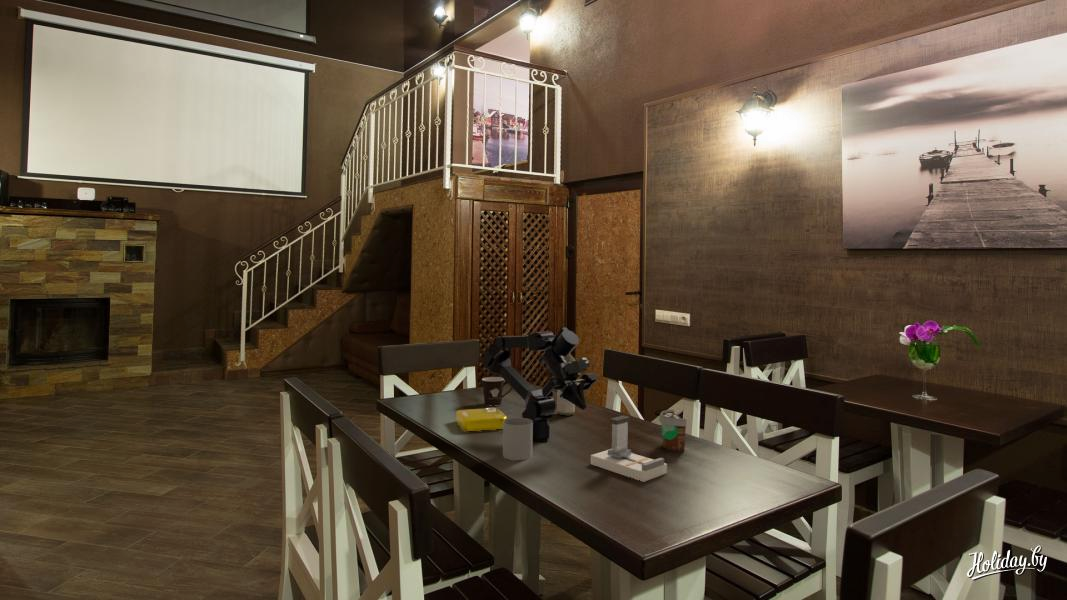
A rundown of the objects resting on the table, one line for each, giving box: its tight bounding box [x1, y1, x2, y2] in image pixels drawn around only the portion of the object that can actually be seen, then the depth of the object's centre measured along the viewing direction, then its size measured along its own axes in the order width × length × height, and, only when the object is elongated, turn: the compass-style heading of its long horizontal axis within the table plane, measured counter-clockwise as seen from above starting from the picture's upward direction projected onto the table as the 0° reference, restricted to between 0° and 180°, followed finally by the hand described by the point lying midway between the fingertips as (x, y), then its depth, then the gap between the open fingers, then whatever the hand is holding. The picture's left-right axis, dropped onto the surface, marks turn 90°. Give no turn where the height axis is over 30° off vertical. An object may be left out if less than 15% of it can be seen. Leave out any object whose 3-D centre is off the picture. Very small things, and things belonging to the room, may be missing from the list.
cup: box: [502, 417, 533, 461], centre depth 170 cm, size 8×8×10 cm
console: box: [590, 448, 668, 483], centre depth 160 cm, size 18×10×4 cm, turn 42°
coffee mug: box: [481, 376, 514, 407], centre depth 232 cm, size 12×9×10 cm
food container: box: [658, 409, 687, 452], centre depth 180 cm, size 12×6×10 cm, turn 5°
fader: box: [607, 415, 632, 459], centre depth 162 cm, size 4×6×10 cm
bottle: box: [556, 353, 577, 417], centre depth 218 cm, size 7×7×30 cm
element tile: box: [455, 407, 508, 432], centre depth 203 cm, size 15×15×5 cm
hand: (584, 408), depth 171 cm, fingers closed
